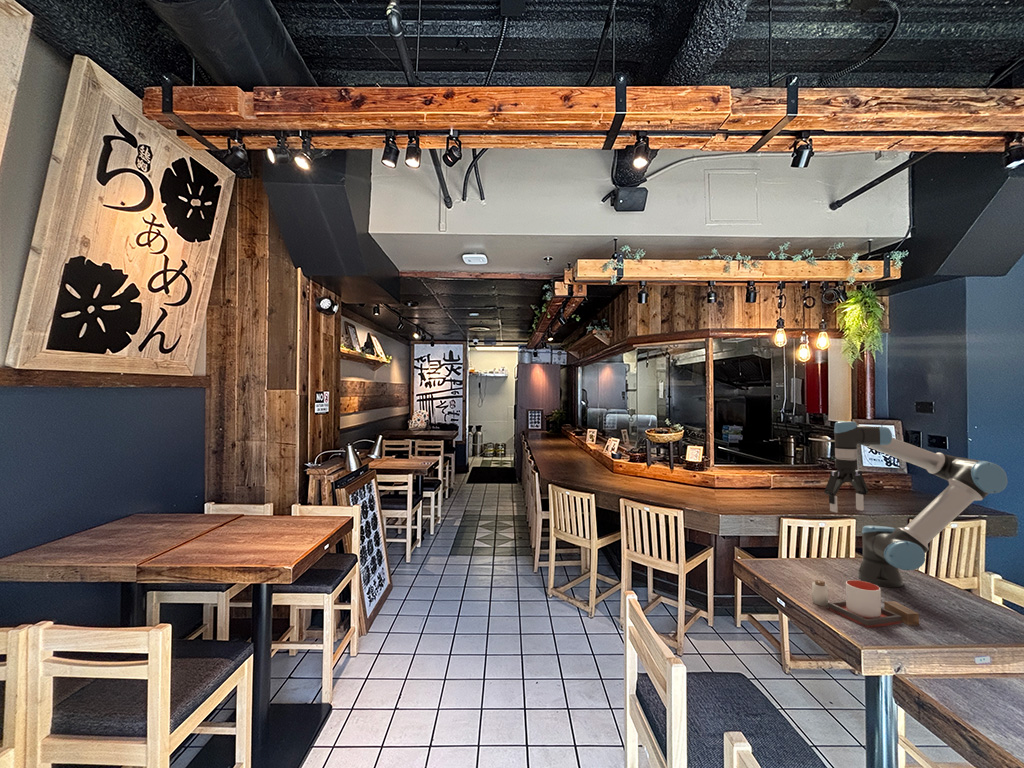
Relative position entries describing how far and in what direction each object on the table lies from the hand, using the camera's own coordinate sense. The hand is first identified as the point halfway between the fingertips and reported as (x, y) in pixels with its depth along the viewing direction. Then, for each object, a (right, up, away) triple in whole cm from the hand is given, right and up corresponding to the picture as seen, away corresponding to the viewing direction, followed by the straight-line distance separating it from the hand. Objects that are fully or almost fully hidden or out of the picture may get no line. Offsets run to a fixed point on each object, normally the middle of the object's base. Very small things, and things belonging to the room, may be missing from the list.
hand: (846, 510), depth 194 cm
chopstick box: (0, -31, -27) cm, 41 cm away
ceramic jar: (-20, -31, -15) cm, 40 cm away
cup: (-12, -30, -25) cm, 41 cm away
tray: (-12, -31, -25) cm, 42 cm away
